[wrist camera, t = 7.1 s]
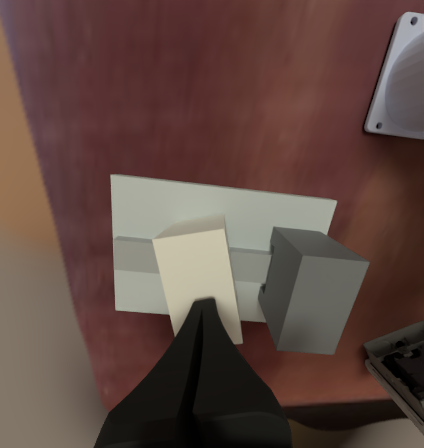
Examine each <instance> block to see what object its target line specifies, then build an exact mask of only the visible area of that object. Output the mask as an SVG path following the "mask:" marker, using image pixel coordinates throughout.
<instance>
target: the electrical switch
mask: <svg viewBox="0 0 424 448" xmlns="http://www.w3.org/2000/svg"><path fill="white" fill-rule="evenodd" d="M404 337H405V338H404ZM405 339H406V340H407V341H408V343H409V344H408V343H407V341H406V340H405ZM398 341H402V342H403V344H404V345H405V346H402V347H400V348H397V346H396V343H397V342H398ZM389 342H390V343H391V344H392V348H391V345H390V343H389ZM375 343H376V344H375ZM363 346H364V347H365V349H366V351H367V354H368V357H369V359H367V360H365V366H366V367H367V369H368V371H369V372H370V373H371V374H372V375H373V377H374V378H375V379H376V380H377V381H378V382H379V384H380V385H381V386H382V387H383V388H384V389H385V391H386V392H387V393H388V394H389V395H390V396H391V398H392V399H393V400H394V401H395V402H396V404H397V405H398V406H399V407H400V408H401V409H402V411H403V412H404V413H405V414H406V415H407V416H408V418H409V419H410V420H411V421H412V422H413V423H414V425H415V426H416V427H417V428H418V429H419V430H420V432H421V433H422V434H423V435H424V320H423V321H420V322H418V323H415V324H412V325H410V326H407V327H405V328H402V329H400V330H397V331H394V332H392V333H389V334H387V335H384V336H381V337H379V338H376V339H374V340H371V341H368V342H366V343H363ZM374 351H375V352H374Z"/></svg>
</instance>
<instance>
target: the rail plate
mask: <svg viewBox="0 0 424 448" xmlns="http://www.w3.org/2000/svg"><path fill="white" fill-rule="evenodd" d="M111 197H112V225H113V253H114V281H115V308H116V310H120V311H132V312H144V313H157V314H169V310H168V305H167V301H166V297H165V293H164V288H163V284H162V280H161V276H160V271H159V267H158V263H157V259H156V255H155V250H154V246H153V242H152V239H154V238H155V237H156V236H157V235H159V234H160V233H161V232H163V231H164V230H165V229H167V228H168V227H169V226H171V225H172V224H173V223H174V222H176V221H183V220H189V219H195V218H201V217H207V216H214V215H220V214H224V215H225V221H226V228H227V236H228V243H229V249H230V255H231V261H232V267H233V274H234V280H235V283H236V290H237V297H238V305H239V314H240V320H243V321H255V322H266V323H267V326H268V329H269V331H270V334H271V337H272V340H273V342H274V345H275V348H276V351H290V352H303V353H317V354H330V355H334V352H335V350H336V347H337V345H338V342H339V340H340V337H341V334H342V332H343V329H344V327H345V324H346V322H347V319H348V317H349V314H350V312H351V309H352V307H353V304H354V302H355V299H356V296H357V294H358V291H359V289H360V286H361V284H362V281H363V279H364V276H365V274H366V271H367V269H368V266H369V263H370V262H369V261H367V260H366V259H364V258H363V257H361V256H359V255H358V254H356V253H354V252H353V251H351V250H350V249H348V248H346V247H345V246H343V245H341V244H340V243H338V242H336V241H335V240H333V239H332V238H330V237H328V236H327V233H328V229H329V226H330V223H331V220H332V216H333V213H334V210H335V207H336V203H337V201H336V200H332V199H328V198H320V197H311V196H302V195H294V194H285V193H276V192H268V191H259V190H250V189H242V188H233V187H224V186H216V185H207V184H198V183H190V182H181V181H172V180H164V179H155V178H146V177H138V176H129V175H120V174H114V175H111ZM169 315H170V314H169Z"/></svg>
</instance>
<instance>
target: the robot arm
mask: <svg viewBox="0 0 424 448" xmlns="http://www.w3.org/2000/svg"><path fill="white" fill-rule="evenodd" d="M411 21H412V25H411V23H410V22H411ZM377 124H378V129H377V128H376V125H377ZM364 129H365V131H366V132H370V133H378V134H385V135H392V136H400V137H407V138H415V139H422V140H424V14H420V13H414V12H406V13H405V14H403V15H402V16H401V17H400V18H399V19H398V21H397V23H396V26H395V30H394V33H393V36H392V39H391V42H390V46H389V49H388V52H387V55H386V58H385V62H384V65H383V68H382V71H381V74H380V78H379V81H378V84H377V87H376V90H375V94H374V97H373V100H372V103H371V106H370V109H369V113H368V116H367V119H366V122H365V126H364ZM94 448H293V447H292V436H291V429H290V426H289V423H288V421H287V418H286V416H285V414H284V412H283V410H282V408H281V406H280V404H279V402H278V401H277V399H276V397H275V396H274V394H273V392H272V390H271V389H270V388H269V387H268V386H267V385H266V384H265V383H264V382H263V380H262V379H261V378H260V377H259V376H258V375H257V374H256V373H255V371H254V370H253V369H252V368H251V367H250V365H249V364H248V363H247V362H246V360H245V359H244V358H243V356H242V355H241V354H240V352H239V351H238V349H237V348H236V346H235V345H234V343H233V342H232V340H231V338H230V337H229V335H228V333H227V331H226V330H225V328H224V326H223V323H222V321H221V319H220V317H219V314H218V311H217V306H216V301H215V299H214V298H212V299H206V300H199V301H194V302H193V304H192V306H191V308H190V310H189V313H188V315H187V317H186V319H185V321H184V322H183V324H182V326H181V328H180V330H179V332H178V333H177V335H176V337H175V338H174V340H173V341H172V343H171V345H170V346H169V348H168V349H167V350H166V352H165V353H164V355H163V356H162V357H161V359H160V360H159V361H158V362H157V364H156V365H155V366H154V368H153V369H152V370H151V371H150V372H149V373H148V375H147V376H146V377H145V378H144V379H143V380H142V381H141V382H140V383H139V384H138V385H137V386H136V388H135V389H134V390H133V391H132V392H131V393H130V394H129V395H127V396H126V397H125V398H124V399H123V400H122V401H121V402H120V403H119V404H118V405H117V406H116V407H115V408H114V409H112V410H111V411H110V412H109V414H108V416H107V418H106V420H105V422H104V424H103V426H102V428H101V431H100V433H99V436H98V438H97V441H96V443H95V446H94Z"/></svg>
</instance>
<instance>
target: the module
mask: <svg viewBox="0 0 424 448" xmlns="http://www.w3.org/2000/svg"><path fill="white" fill-rule="evenodd" d="M152 242H153V246H154V250H155V255H156V259H157V263H158V267H159V271H160V276H161V280H162V284H163V288H164V293H165V297H166V301H167V305H168V310H169V314H170V318H171V322H172V326H173V331H174V335H175V337H176V335H177V333H178V332H179V330H180V328H181V326H182V324H183V322H184V321H185V319H186V317H187V315H188V313H189V310H190V308H191V306H192V304H193V302H194V301H199V300H206V299H212V298H214V299H215V301H216V306H217V311H218V314H219V317H220V319H221V321H222V323H223V326H224V328H225V330H226V331H227V333H228V335H229V337H230V338H231V340H232V342H233V343H234V344H243V340H242V331H241V322H240V314H239V305H238V297H237V290H236V283H235V280H234V274H233V267H232V261H231V255H230V249H229V243H228V236H227V228H226V221H225V215H224V214H220V215H214V216H207V217H201V218H195V219H189V220H183V221H176V222H174V223H173V224H172V225H171V226H169V227H168V228H167V229H165V230H164V231H163V232H161V233H160V234H159V235H157V236H156V237H155V238H154V239H152Z"/></svg>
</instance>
